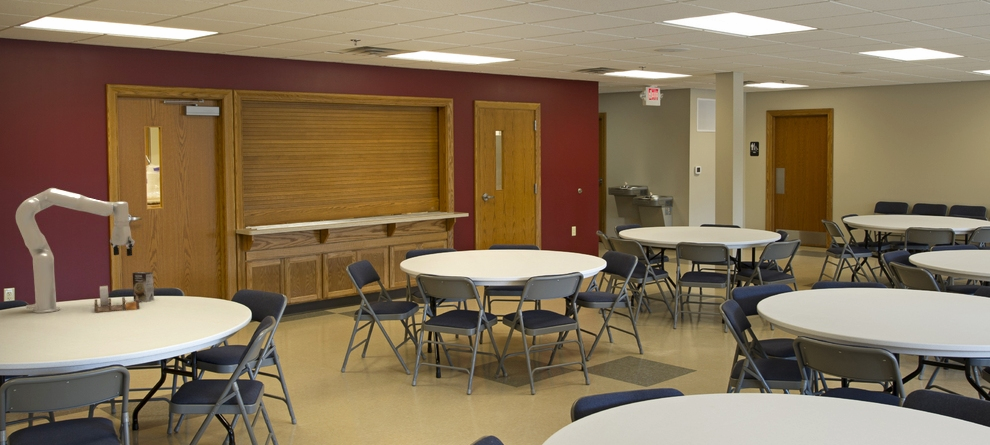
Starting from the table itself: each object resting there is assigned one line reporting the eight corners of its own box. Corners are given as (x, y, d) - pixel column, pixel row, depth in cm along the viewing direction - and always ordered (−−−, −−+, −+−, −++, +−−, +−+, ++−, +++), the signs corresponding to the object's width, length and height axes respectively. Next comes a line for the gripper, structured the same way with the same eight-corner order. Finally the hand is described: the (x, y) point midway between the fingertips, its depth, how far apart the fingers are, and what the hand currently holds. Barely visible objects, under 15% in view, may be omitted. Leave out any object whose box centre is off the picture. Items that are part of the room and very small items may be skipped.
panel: (100, 307, 451) (99, 289, 451) (100, 304, 461) (99, 286, 460) (108, 306, 453) (107, 288, 452) (108, 303, 463) (107, 285, 462)
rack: (94, 313, 434) (94, 303, 434) (95, 308, 448) (94, 299, 448) (139, 309, 443) (139, 300, 443) (138, 304, 457) (137, 296, 457)
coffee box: (133, 301, 468) (131, 272, 467) (141, 299, 474) (139, 271, 473) (146, 302, 466) (145, 273, 464) (154, 300, 472) (153, 271, 471)
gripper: (104, 224, 456) (105, 255, 458) (127, 225, 450) (129, 256, 451) (115, 223, 463) (116, 254, 465) (138, 224, 456) (140, 255, 458)
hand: (122, 255), depth 458 cm, fingers open, 9 cm apart
